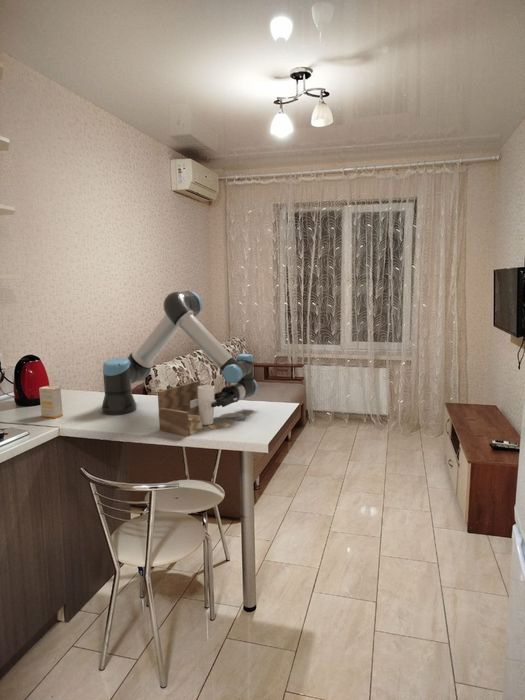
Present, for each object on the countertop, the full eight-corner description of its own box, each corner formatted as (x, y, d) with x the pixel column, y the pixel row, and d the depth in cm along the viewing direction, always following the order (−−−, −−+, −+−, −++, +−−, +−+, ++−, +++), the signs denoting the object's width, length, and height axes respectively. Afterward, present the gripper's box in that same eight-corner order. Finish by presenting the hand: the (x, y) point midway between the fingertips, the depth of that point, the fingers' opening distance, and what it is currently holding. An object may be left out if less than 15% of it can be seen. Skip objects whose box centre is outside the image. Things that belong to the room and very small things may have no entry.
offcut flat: (228, 427, 189) (228, 423, 189) (231, 430, 186) (231, 425, 185) (208, 430, 187) (208, 425, 186) (211, 433, 183) (211, 428, 183)
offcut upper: (188, 420, 184) (188, 414, 184) (199, 421, 182) (199, 415, 182) (180, 424, 179) (179, 418, 179) (191, 426, 177) (191, 419, 177)
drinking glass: (198, 421, 192) (197, 385, 190) (215, 420, 193) (214, 384, 191) (197, 426, 186) (196, 389, 184) (215, 425, 186) (214, 388, 184)
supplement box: (63, 415, 209) (61, 386, 208) (54, 418, 205) (52, 389, 203) (50, 414, 213) (47, 385, 211) (41, 416, 209) (38, 387, 207)
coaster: (218, 415, 207) (218, 413, 206) (243, 413, 208) (243, 412, 208) (219, 422, 196) (219, 420, 196) (246, 420, 197) (246, 419, 197)
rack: (198, 417, 203) (197, 380, 201) (226, 422, 196) (225, 384, 193) (157, 433, 183) (155, 392, 180) (186, 439, 175) (185, 397, 173)
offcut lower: (190, 427, 186) (190, 419, 185) (202, 429, 182) (202, 422, 182) (178, 432, 180) (177, 424, 179) (190, 434, 176) (190, 426, 176)
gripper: (251, 405, 199) (218, 418, 179) (214, 399, 209) (179, 411, 190) (251, 387, 198) (217, 399, 178) (214, 382, 208) (178, 393, 188)
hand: (198, 405), depth 184 cm, fingers closed on drinking glass, 6 cm apart
